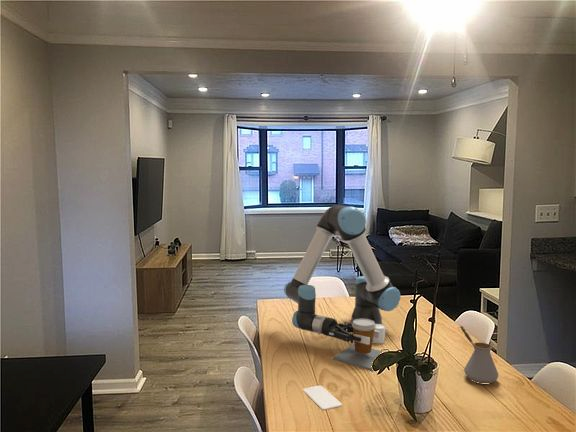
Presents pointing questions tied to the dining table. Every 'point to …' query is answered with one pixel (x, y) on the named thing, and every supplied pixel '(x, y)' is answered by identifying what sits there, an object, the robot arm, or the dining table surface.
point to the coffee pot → (480, 363)
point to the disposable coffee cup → (363, 334)
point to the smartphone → (322, 397)
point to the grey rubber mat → (357, 357)
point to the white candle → (382, 334)
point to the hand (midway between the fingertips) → (374, 337)
